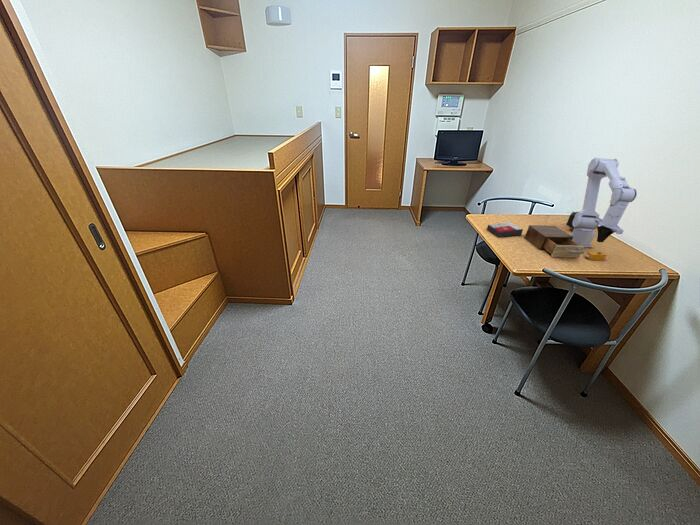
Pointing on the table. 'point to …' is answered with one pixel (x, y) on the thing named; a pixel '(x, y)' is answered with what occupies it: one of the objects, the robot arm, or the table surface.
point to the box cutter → (595, 255)
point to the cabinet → (544, 234)
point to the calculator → (504, 229)
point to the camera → (570, 220)
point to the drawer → (563, 247)
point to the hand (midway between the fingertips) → (599, 241)
